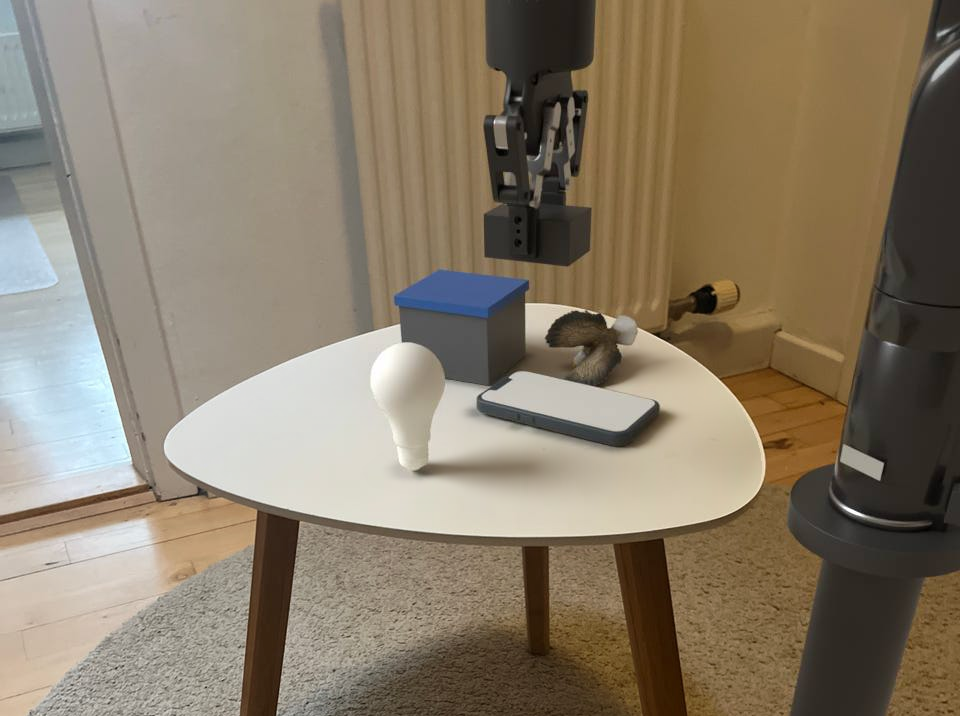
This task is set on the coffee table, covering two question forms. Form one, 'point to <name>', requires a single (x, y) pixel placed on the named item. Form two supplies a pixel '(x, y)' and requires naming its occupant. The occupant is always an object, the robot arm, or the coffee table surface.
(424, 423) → the lightbulb
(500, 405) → the smartphone
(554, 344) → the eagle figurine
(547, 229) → the case
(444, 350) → the container
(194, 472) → the coffee table surface
